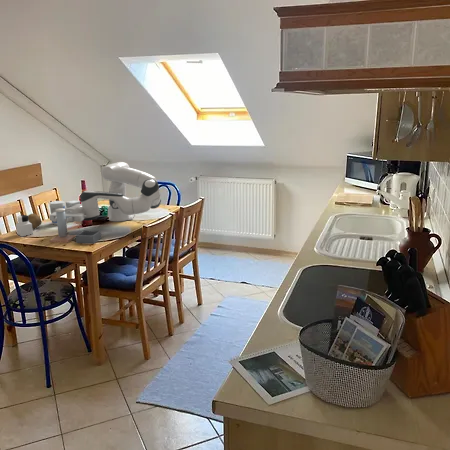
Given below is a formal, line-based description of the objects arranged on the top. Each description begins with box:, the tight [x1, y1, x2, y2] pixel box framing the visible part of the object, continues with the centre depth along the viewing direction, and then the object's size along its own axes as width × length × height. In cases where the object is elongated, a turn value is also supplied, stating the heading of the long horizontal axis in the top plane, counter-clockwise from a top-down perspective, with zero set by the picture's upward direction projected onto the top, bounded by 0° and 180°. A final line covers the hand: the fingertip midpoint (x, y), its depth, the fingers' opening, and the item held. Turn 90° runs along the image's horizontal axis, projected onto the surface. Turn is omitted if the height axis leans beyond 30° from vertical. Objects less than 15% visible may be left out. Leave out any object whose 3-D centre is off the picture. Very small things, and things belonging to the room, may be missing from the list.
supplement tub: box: [49, 200, 68, 226], centre depth 293 cm, size 10×10×15 cm
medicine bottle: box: [15, 214, 34, 237], centre depth 269 cm, size 7×7×12 cm
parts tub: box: [75, 230, 102, 245], centre depth 257 cm, size 11×11×4 cm
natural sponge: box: [27, 213, 42, 230], centre depth 282 cm, size 9×9×10 cm
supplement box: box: [65, 200, 81, 209], centre depth 304 cm, size 7×7×13 cm
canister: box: [56, 208, 69, 237], centre depth 257 cm, size 5×5×16 cm
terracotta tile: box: [49, 234, 77, 243], centre depth 260 cm, size 11×11×1 cm
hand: (60, 220), depth 256 cm, fingers closed on canister, 5 cm apart
